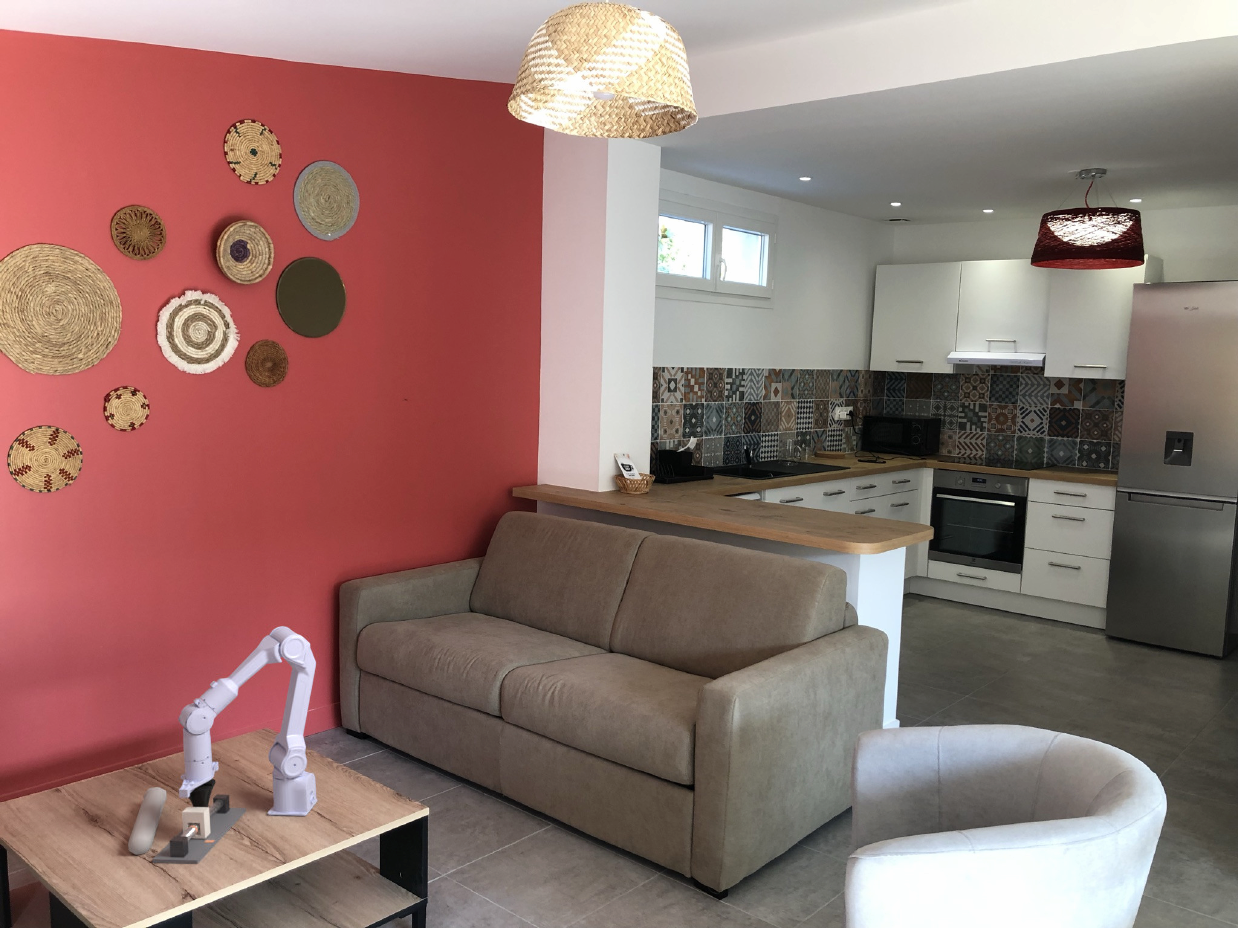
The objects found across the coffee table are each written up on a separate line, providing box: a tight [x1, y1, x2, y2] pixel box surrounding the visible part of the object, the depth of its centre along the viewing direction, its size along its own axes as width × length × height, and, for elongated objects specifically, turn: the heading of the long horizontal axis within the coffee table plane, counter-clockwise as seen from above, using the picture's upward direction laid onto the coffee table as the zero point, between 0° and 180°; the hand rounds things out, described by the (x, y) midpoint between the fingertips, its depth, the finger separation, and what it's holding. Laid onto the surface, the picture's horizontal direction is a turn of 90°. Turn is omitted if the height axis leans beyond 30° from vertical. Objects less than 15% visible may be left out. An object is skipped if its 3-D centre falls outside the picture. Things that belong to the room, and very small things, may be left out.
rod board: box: [152, 793, 247, 865], centre depth 222 cm, size 10×24×5 cm, turn 177°
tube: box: [127, 786, 168, 856], centre depth 225 cm, size 5×5×25 cm
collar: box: [181, 806, 210, 839], centre depth 220 cm, size 5×2×6 cm, turn 87°
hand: (201, 813), depth 222 cm, fingers closed
